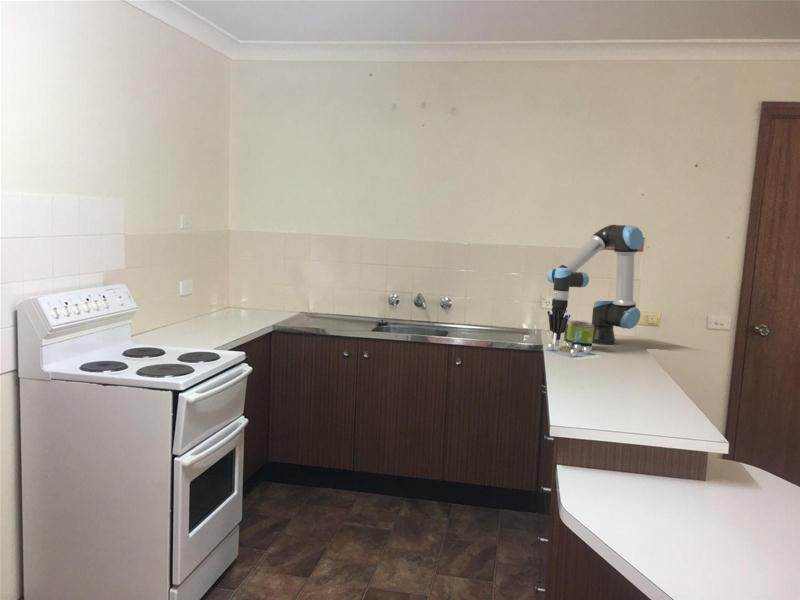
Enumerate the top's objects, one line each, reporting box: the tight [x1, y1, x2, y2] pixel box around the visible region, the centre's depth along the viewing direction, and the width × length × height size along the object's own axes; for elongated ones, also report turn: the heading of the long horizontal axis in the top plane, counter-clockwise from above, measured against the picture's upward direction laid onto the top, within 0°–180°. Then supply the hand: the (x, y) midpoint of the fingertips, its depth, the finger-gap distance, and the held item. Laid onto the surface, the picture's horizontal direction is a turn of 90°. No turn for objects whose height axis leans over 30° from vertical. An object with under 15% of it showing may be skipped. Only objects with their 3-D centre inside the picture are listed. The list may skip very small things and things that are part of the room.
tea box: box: [563, 319, 594, 352], centre depth 340 cm, size 15×10×15 cm
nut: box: [559, 345, 570, 352], centre depth 327 cm, size 4×5×2 cm
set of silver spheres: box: [546, 342, 591, 358], centre depth 324 cm, size 15×17×4 cm
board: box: [543, 348, 602, 361], centre depth 323 cm, size 18×22×1 cm
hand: (555, 345), depth 332 cm, fingers closed
